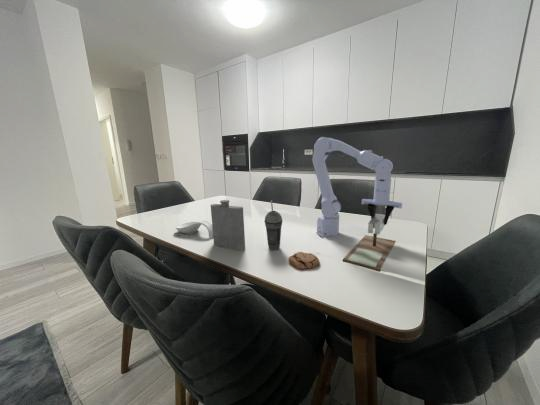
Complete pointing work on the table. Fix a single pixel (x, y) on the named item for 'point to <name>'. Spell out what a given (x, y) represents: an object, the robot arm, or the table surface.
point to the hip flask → (228, 226)
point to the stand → (370, 252)
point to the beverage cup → (273, 228)
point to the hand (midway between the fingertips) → (379, 223)
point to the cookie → (304, 260)
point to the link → (376, 223)
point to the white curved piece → (195, 227)
